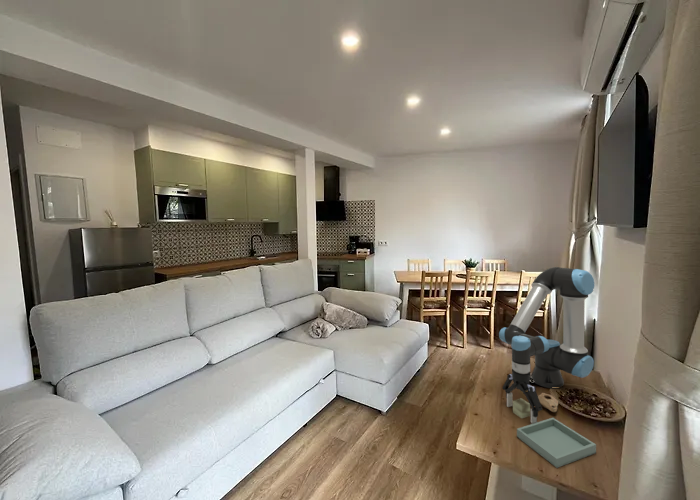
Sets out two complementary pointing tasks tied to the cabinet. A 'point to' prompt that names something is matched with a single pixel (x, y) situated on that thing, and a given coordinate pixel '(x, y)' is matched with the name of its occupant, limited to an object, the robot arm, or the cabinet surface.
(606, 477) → the cabinet surface
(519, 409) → the olive block
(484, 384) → the cabinet surface
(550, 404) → the pottery oil lamp
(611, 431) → the cabinet surface
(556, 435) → the bin
